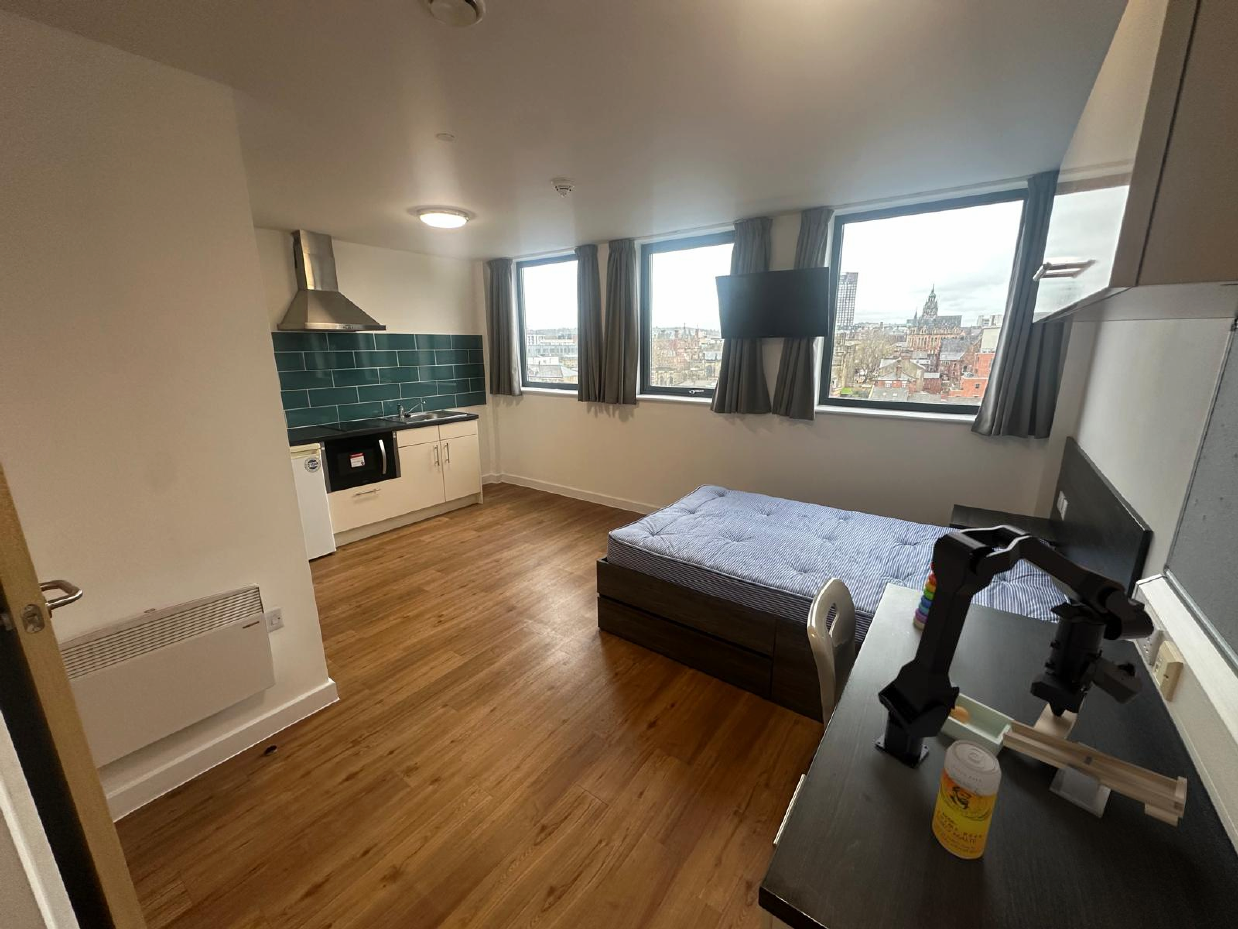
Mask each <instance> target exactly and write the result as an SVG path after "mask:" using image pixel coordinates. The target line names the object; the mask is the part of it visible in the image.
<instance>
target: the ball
mask: <svg viewBox="0 0 1238 929" xmlns="http://www.w3.org/2000/svg"><path fill="white" fill-rule="evenodd" d="M950 717H951V718H953V719H955V720H957V721H959V722H961V723H963V724H966V723H967V722H968V721H969V714H968V712H967V711H966V710H965V709H964V708H962V707H959V706H955V710H953V709H951V712H950Z"/></svg>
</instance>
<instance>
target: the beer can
mask: <svg viewBox="0 0 1238 929" xmlns="http://www.w3.org/2000/svg"><path fill="white" fill-rule="evenodd" d="M943 763H944V764H943V769H942V774H941V778H940V784H939V789H938V794H937V799H936V804H935V809H934V814H933V818H932V819H933V820H932V825H931V827H932V831H933V833H934V835H935V837H936V839H937V840H938V842H939V843H940V844H941V846H942V847H943V848H944V849H946V850H947V851H948V852H949V853H951V854H953V855H955V856H956V857H959V858H961V859H965V860H966V859H967V860H972V859H977V858H980V857H981V856H982V855H983V854H984V850H985V846H986V843H987V842H986V841H987V838H988V835H989V834H988V833H989V828H990V826H991V821H992V816H993V812H994V808H995V804H996V799H997V795H998V793H999V792H998V791H999V788H1000V783H1001V780H1002V771H1001V767H1000V763H999V760H998V758H997V757H995V756H994V755H993V754H992V753H991V752H990V751H988V750H987V749H985V748H984V747H982V746H980V745H978V744H976V743H973V742H970V741H965V740H959V741H957V740H955V741H954V742H952V744H951V745H950V746H949V747H948V748H947V749H946V754H945V759H944V762H943Z"/></svg>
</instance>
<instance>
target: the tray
mask: <svg viewBox="0 0 1238 929" xmlns="http://www.w3.org/2000/svg"><path fill="white" fill-rule="evenodd" d="M955 706H959V707H962V708H964V709H965V710H966V711H967V712H968V714H969V721H968V722H967V723H966V724H963V723H961V722H959V721H957V720H955V719H953V718H951V717H950V714H949V716H948V718H947V720H946V722H945V723H944V725H943V727H942V728H941V730H940V732H939V733H942V734H944V735H946V736H948V737H949V738H951V739H953V740H955V741H959V740H965V741H970V742H973V743H976V744H978V745H980V746H982V747H984V748H985V749H987V750H988V751H990V752H991V753H992V754H993V755H994V756H995V757H996V758H997V757H998V755H999V754H1000V752H1001V751H1002V749H1003V747H1005V746H1004V745H1003V733H1004V732H1006V733H1008V732H1009V730H1010V729H1011V721H1012V720H1014V721H1015V719H1014V718H1012V717H1010V716H1008V715H1006V714H1004V713H1002V712H1000V711H997V710H995V709H994V708H991V707H989V706H987V705H986V704H984V703H981V702H979V701H977V700H975V699H973V698H971V697H968V696H967V695H964V694H963V693H961V692H959V695H958V697H957V699H956V702H955Z"/></svg>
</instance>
